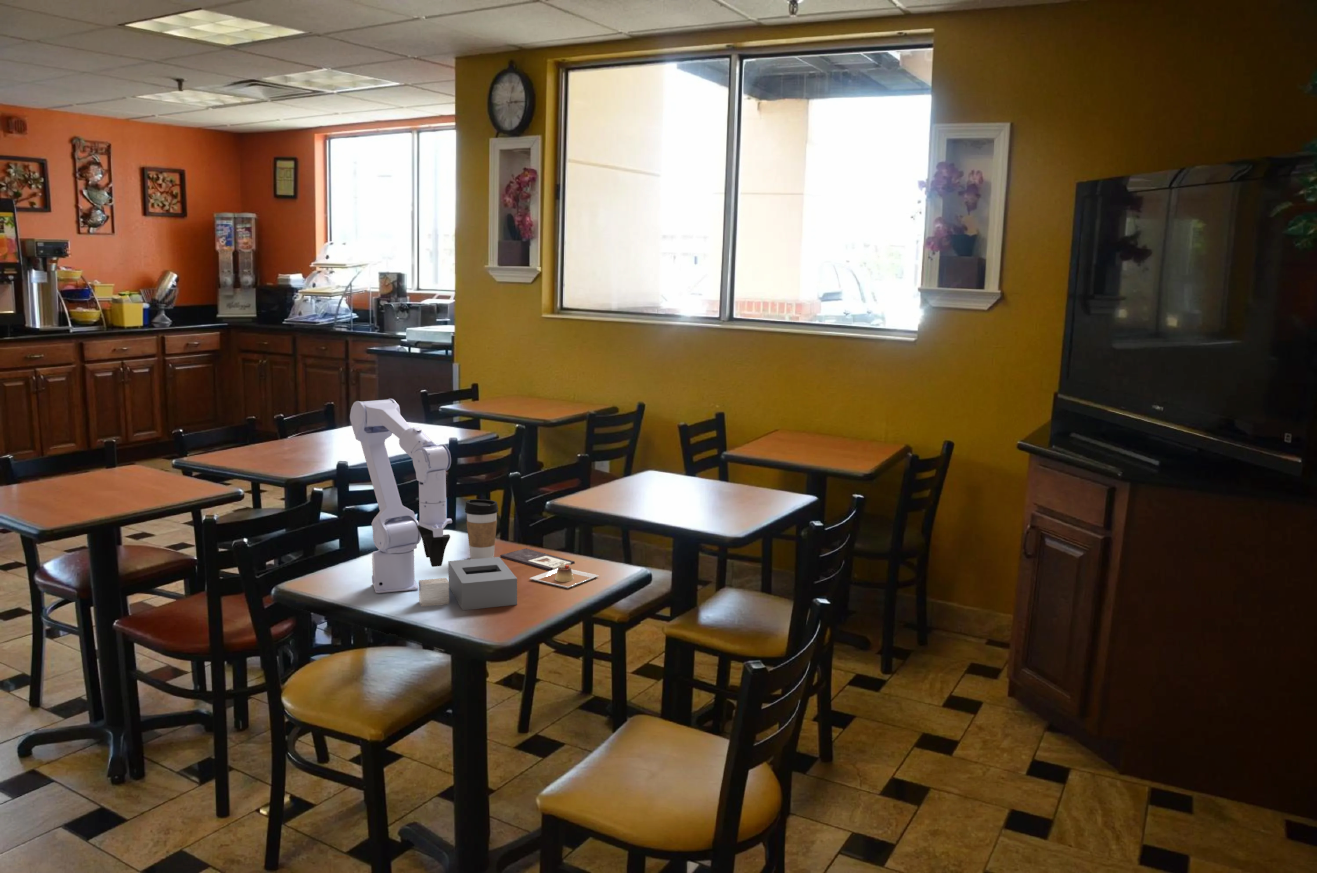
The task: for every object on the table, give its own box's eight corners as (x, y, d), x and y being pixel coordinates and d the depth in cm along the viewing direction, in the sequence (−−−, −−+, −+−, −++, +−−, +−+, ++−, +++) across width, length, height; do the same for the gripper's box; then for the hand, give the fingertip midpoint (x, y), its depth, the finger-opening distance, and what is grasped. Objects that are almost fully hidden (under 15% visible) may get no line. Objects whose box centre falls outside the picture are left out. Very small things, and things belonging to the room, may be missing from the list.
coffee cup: (464, 554, 256) (463, 498, 253) (497, 553, 258) (497, 497, 255) (466, 563, 248) (465, 505, 245) (500, 561, 250) (499, 504, 247)
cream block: (421, 607, 214) (421, 584, 214) (419, 602, 218) (418, 580, 217) (449, 604, 216) (448, 582, 216) (446, 599, 220) (446, 577, 219)
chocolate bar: (526, 548, 261) (574, 561, 249) (526, 551, 261) (574, 565, 250) (500, 555, 254) (549, 568, 243) (500, 558, 254) (548, 572, 243)
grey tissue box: (462, 610, 212) (462, 583, 211) (448, 586, 229) (448, 561, 228) (517, 604, 217) (517, 578, 216) (499, 581, 233) (499, 556, 232)
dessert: (599, 579, 238) (599, 560, 237) (568, 591, 228) (568, 571, 227) (560, 571, 244) (560, 552, 244) (528, 582, 235) (528, 563, 234)
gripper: (457, 506, 208) (457, 568, 210) (445, 492, 222) (446, 551, 224) (423, 508, 206) (424, 571, 208) (413, 494, 219) (414, 553, 221)
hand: (433, 561), depth 216 cm, fingers open, 7 cm apart
